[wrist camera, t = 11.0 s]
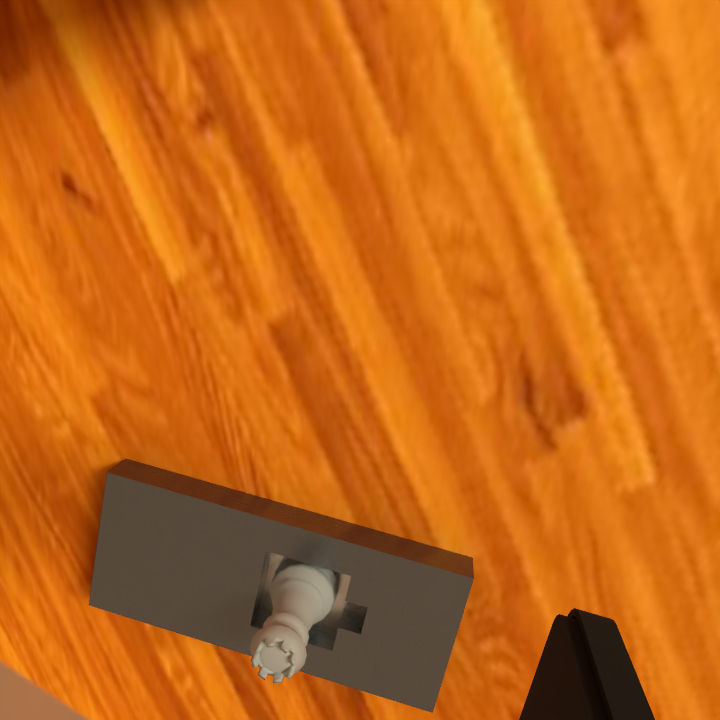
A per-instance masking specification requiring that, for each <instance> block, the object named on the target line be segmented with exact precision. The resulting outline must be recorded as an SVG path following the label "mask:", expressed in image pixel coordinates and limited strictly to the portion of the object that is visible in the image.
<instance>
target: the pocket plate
mask: <svg viewBox="0 0 720 720" xmlns="http://www.w3.org/2000/svg"><path fill="white" fill-rule="evenodd" d="M289 558H291V559H295V560H298V561H301V562H305V563H308V564H312V565H315V566H318V567H322V568H325V569H329V570H332V572H333V573H334V575H335V576H336V578H337V584H338V594H337V598H336V601H335V603H334V604H333V607H332V609H331V611H330V612H329V613H328V614H327V615H326V616H325V618H324V619H323V620H321V621H319V622H317V623H316V624H313V625H312V627H311V628H310V630H309V631H308V635H309V639H308V643H307V646H306V647H305V648H306V653H307V656H306V660H305V664H304V666H303V667H302V668H301V669H300V670H299V671H301V672H304V673H307V674H310V675H314V676H317V677H320V678H323V679H326V680H329V681H333V682H336V683H339V684H342V685H345V686H349V687H352V688H355V689H358V690H361V691H365V692H368V693H371V694H374V695H377V696H381V697H384V698H387V699H390V700H393V701H397V702H400V703H403V704H406V705H409V706H412V707H416V708H419V709H422V710H425V711H428V712H432V713H433V710H434V706H435V703H436V700H437V697H438V693H439V690H440V687H441V684H442V680H443V677H444V674H445V671H446V667H447V664H448V661H449V658H450V654H451V651H452V648H453V644H454V641H455V638H456V635H457V631H458V628H459V625H460V622H461V618H462V615H463V612H464V609H465V605H466V602H467V599H468V596H469V592H470V589H471V586H472V583H473V579H474V574H473V558H471V557H468V556H464V555H461V554H457V553H454V552H450V551H447V550H443V549H440V548H436V547H433V546H429V545H426V544H422V543H419V542H415V541H412V540H408V539H405V538H401V537H398V536H394V535H391V534H387V533H384V532H380V531H377V530H373V529H370V528H366V527H363V526H359V525H356V524H352V523H349V522H345V521H342V520H338V519H335V518H331V517H328V516H324V515H321V514H317V513H314V512H310V511H307V510H303V509H300V508H296V507H293V506H289V505H286V504H282V503H279V502H275V501H272V500H268V499H265V498H261V497H258V496H254V495H251V494H247V493H244V492H240V491H237V490H233V489H230V488H226V487H223V486H219V485H216V484H212V483H209V482H205V481H202V480H198V479H195V478H191V477H188V476H184V475H181V474H177V473H174V472H170V471H167V470H163V469H160V468H156V467H153V466H149V465H146V464H143V463H139V462H136V461H132V460H129V459H126V460H124V461H123V462H121V463H120V464H118V465H117V466H115V467H114V468H113V469H111V470H110V471H108V472H107V476H106V483H105V490H104V498H103V505H102V512H101V520H100V527H99V534H98V541H97V549H96V556H95V563H94V571H93V578H92V585H91V593H90V600H89V605H90V606H93V607H97V608H100V609H103V610H106V611H109V612H112V613H116V614H119V615H122V616H125V617H128V618H132V619H135V620H138V621H141V622H144V623H148V624H151V625H154V626H157V627H160V628H164V629H167V630H170V631H173V632H176V633H180V634H183V635H186V636H189V637H192V638H195V639H199V640H202V641H205V642H208V643H211V644H215V645H218V646H221V647H224V648H227V649H231V650H234V651H237V652H240V653H243V654H247V655H250V656H252V654H251V650H250V645H251V641H252V637H253V636H254V635H255V634H256V632H257V631H258V630H260V629H262V628H263V624H264V622H265V621H266V620H267V618H268V617H269V616H271V615H272V612H273V605H272V601H271V596H270V588H271V583H272V579H273V577H274V575H275V571H276V569H277V568H278V567H279V566H280V564H281V563H282V562H283V561H285V560H287V559H289Z"/></svg>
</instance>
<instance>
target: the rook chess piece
mask: <svg viewBox="0 0 720 720" xmlns="http://www.w3.org/2000/svg"><path fill="white" fill-rule="evenodd" d="M337 594H338V584H337V578H336V576H335V575H334V573H333V572H332V570H329V569H325V568H322V567H318V566H315V565H312V564H308V563H305V562H301V561H298V560H295V559H291V558H289V559H287V560H285V561H283V562H282V563H281V564H280V566H279V567H278V568H277V569H276V571H275V575H274V577H273V579H272V583H271V588H270V596H271V601H272V605H273V612H272V615H271V616H269V617H268V618H267V620H266V621H265V622H264V624H263V628H262V629H260V630H258V631H257V632H256V634H255V635H254V636H253V637H252V641H251V645H250V650H251V654H252V659H251V662H252V667H257V666H258V667H259V668H260V670H259V672H258V676H260V677H261V678H262V679H264V680H265V678H266V676H267V675H271V676H274V678H273V683H282V680H283V678H284V677H287V678H288V679H290V678H291V676H292V675H293V674H295V673H297V672H298V671H299V670H300V669H301V668H302V667H303V666H304V664H305V660H306V656H307V653H306V648H305V647H306V646H307V643H308V639H309V635H308V631H309V630H310V628H311V627H312V625H313V624H316V623H317V622H319V621H321V620H323V619H324V618H325V616H326V615H327V614H328V613H329V612H330V611H331V609H332V607H333V604H334V603H335V601H336V598H337Z"/></svg>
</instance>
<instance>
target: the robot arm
mask: <svg viewBox="0 0 720 720" xmlns="http://www.w3.org/2000/svg"><path fill="white" fill-rule="evenodd" d="M519 720H655V718H654V716H653V713H652V711H651V708H650V706H649V704H648V701H647V699H646V696H645V694H644V691H643V689H642V686H641V684H640V681H639V679H638V676H637V674H636V672H635V669H634V667H633V664H632V662H631V659H630V657H629V654H628V652H627V649H626V647H625V645H624V642H623V640H622V637H621V635H620V632H619V630H618V627H617V625H616V623H615V622H614V620H612V619H610V618H606V617H603V616H599V615H596V614H592V613H589V612H585V611H582V610H579V609H575V608H574V609H573V610H571V612H570V613H569V614H568V617H567V616H563V615H560V614H559V615H557V616H556V618H555V619H554V622H553V624H552V627H551V630H550V633H549V636H548V639H547V641H546V644H545V647H544V650H543V653H542V656H541V659H540V662H539V664H538V667H537V670H536V673H535V676H534V679H533V682H532V684H531V687H530V690H529V693H528V696H527V699H526V702H525V704H524V707H523V710H522V713H521V716H520V719H519Z"/></svg>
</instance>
